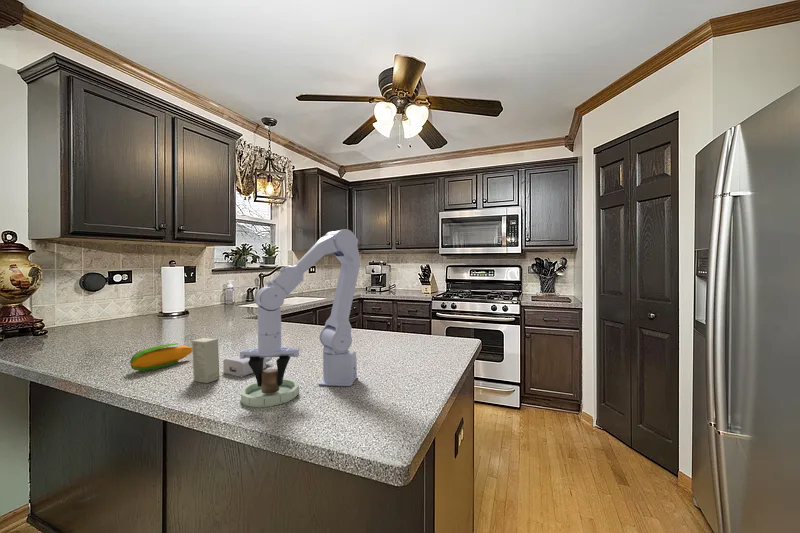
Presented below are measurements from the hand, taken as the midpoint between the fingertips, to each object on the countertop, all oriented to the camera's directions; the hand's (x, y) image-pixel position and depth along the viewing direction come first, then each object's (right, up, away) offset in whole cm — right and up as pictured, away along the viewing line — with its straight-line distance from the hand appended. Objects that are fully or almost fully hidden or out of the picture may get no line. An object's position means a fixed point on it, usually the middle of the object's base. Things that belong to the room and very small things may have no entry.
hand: (270, 384), depth 90 cm
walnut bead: (0, -1, 0) cm, 1 cm away
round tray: (0, -3, 0) cm, 3 cm away
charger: (-15, -3, +24) cm, 28 cm away
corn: (-46, -3, +27) cm, 53 cm away
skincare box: (-24, -3, +13) cm, 27 cm away
